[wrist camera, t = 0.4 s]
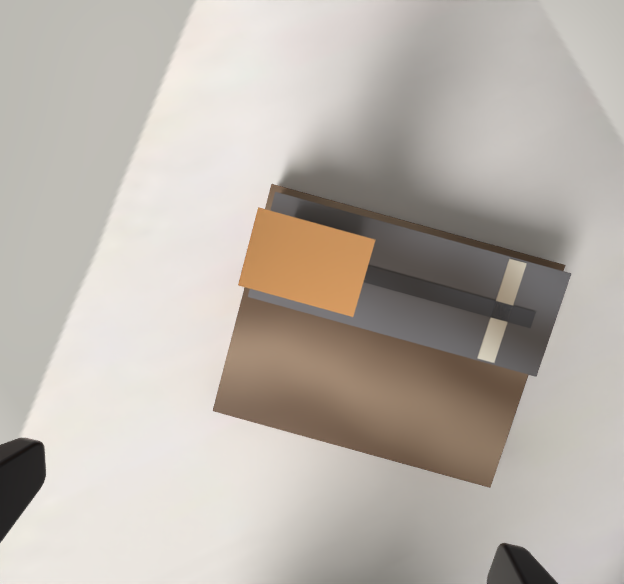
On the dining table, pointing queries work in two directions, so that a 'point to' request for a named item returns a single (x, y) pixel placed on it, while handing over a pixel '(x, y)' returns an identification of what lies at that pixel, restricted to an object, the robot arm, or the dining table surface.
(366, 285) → the fader console
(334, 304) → the cap
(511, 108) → the dining table surface
